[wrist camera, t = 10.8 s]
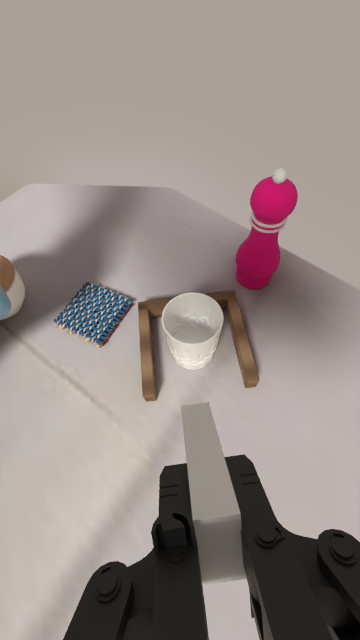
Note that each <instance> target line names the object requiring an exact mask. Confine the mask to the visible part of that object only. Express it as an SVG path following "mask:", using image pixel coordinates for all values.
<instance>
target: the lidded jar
mask: <svg viewBox="0 0 360 640" xmlns="http://www.w3.org/2000/svg"><path fill="white" fill-rule="evenodd" d="M0 285H1V287H2V288H3V290H4V291H5V293H6V294H7V296H8V297H9V299H10V301H11V305H12V306H11V311H10V312H9V314H8V315H7V316H6V317H5V318H3V319H7V318H10V317H12V316H13V315H15V314H16V313H17V312H18V311H19V310H20V308H21V307H22V304H23V301H24V298H25V287H24V283H23V281H22V279H21V277H20V275H19V274H18V272H17V271H16V270H15V268H14V267H13V265H12V264H11V262H10V261H9V260H8V259H7V258H5V257H4V256H1V255H0ZM3 319H2V320H3Z"/></svg>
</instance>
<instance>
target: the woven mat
mask: <svg viewBox="0 0 360 640" xmlns="http://www.w3.org/2000/svg"><path fill="white" fill-rule="evenodd" d="M92 283H93V282H90V283H89V282H86V284H85V285H83V289H80V292H79V291H78V292H77V295H75V297H74V298H75V299H74V298H72V299H71V301H72V302H69V306H68V305H66V308H67V309H63V311H64V313H63V312H60V315H61V316H62V317H61V316H58V317H57V319H58V320H59V321H58V320H56V319H54V322H55V323H57V324H56V326H55V327H56V328H57V327H58V326H60V327H59V329H60V330H63V329H64V328H66V329H65V330H66V331H65V332H66V333H68V332H69V333H70V334H74V333H77V334H76V336H78V337H79V336H82V337H81V338H83V339H85V338H86V339H85V342H86V343H88V342H89V341H93V342H92V344H91V345H94V344H95V343H98V344H97V345H96V346H97V348H100V347H102V346H104V342H106V343H107V338H110V336H109V335H110V334H112V333H113V332H112V331H113V330H115V327H118V325H116V324H118V323H120V322H121V321H120V320H121V319H123V316H125V315H126V312H128V309H130V308H131V306H133V305H134V304H133V303H132V302H133V301H132V300H129V299H128V297H127V298H125V297H126V296H125V295H124V297H122V296H123V295H118V292H117V293H115V292H113V293H112V290H111V291H107V290H108V289H105V287H104V288H102V287H100V288H99V287H98V284H97V285H95V283H94V284H92ZM114 293H115V294H114ZM90 296H91V297H90ZM116 298H117V299H116ZM83 307H84V308H83ZM75 308H76V309H75ZM101 310H102V311H101ZM122 310H123V311H122ZM72 311H73V312H72ZM77 313H78V314H77ZM70 315H71V316H70ZM116 317H118V318H116ZM99 319H101V320H99ZM112 320H114V321H112ZM84 322H85V323H84ZM97 323H99V324H97ZM68 324H69V325H68ZM110 324H111V325H110ZM81 325H82V326H81ZM94 326H95V327H96V328H95V327H94ZM74 327H75V328H74ZM107 327H108V328H110V329H108V328H107ZM87 328H88V329H87ZM77 329H78V330H77ZM91 330H93V332H92V331H91ZM84 332H85V333H84ZM105 332H107V333H105ZM88 334H90V335H88ZM101 335H103V336H104V337H103V336H101ZM98 339H101V341H100V340H98Z"/></svg>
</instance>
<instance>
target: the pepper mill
mask: <svg viewBox="0 0 360 640" xmlns="http://www.w3.org/2000/svg"><path fill="white" fill-rule="evenodd" d="M286 178H287V172H286V170H285V169H283V168H279V169H277V170H275V171H274V173H273V175H272V177H268V178H266V179H263V180H262V181H260V182H259V183H258V184H257V185H256V187H255V188H254V190H253V192H252V195H251V199H250V205H251V208H252V213H251V218H250V223H251V225H252V229H251V232H250V235H249V237H248V238H247V239H246V240H245V241H244V242H243V243H242V245H241V246H240V248H239V249H238V252H237V255H236V265H237V270H236V279H237V281H238V282H239V283H240V284H241V285H242V286H244V287H246V288H249V289H260V288H263V287H265V286H266V285H267V284H268V283H269V281H270V278H271V276H272V274H273V273H274V272H275V271H276V269H277V268H278V265H279V261H280V250H279V246H278V233H279V231H280V230H281V229H283V228H284V226H285V222H286V220H287V216H288V215H289V214H291V213H292V211H293V210H294V208H295V206H296V203H297V190H296V187H295V185H294V184H293V183H292V182H291V181H290V180H288V179H286Z"/></svg>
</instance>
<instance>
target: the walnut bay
mask: <svg viewBox="0 0 360 640" xmlns="http://www.w3.org/2000/svg"><path fill="white" fill-rule="evenodd" d="M205 295H207V296H209V297H211V298H213V299H214V300H215V301H216V302H217V303H218V304H219V306H220V307H221V309H226V313H227V317H228V321H229V325H230V329H231V333H232V337H233V341H234V345H235V349H236V353H237V357H238V361H239V365H240V369H241V373H242V377H243V381H244V385H245V388H250V387H256V385H257V383H258V382H259V377H258V373H257V369H256V366H255V362H254V359H253V355H252V352H251V348H250V344H249V341H248V337H247V334H246V330H245V327H244V323H243V319H242V316H241V312H240V309H239V305H238V302H237V298H236V295H235V291H234V290H231V291H223V292H215V293H207V294H205ZM172 299H173V298H168V299H161V300H153V301H145V302H138V311H139V331H140V351H141V370H142V390H143V397H144V399H145V400H146V402H147V401H154V400H156V386H155V373H154V360H153V347H152V334H151V321H150V318H157V317H162V313H163V310H164V308H165V306H166V305H167V303H168V302H169V301H170V300H172Z"/></svg>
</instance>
